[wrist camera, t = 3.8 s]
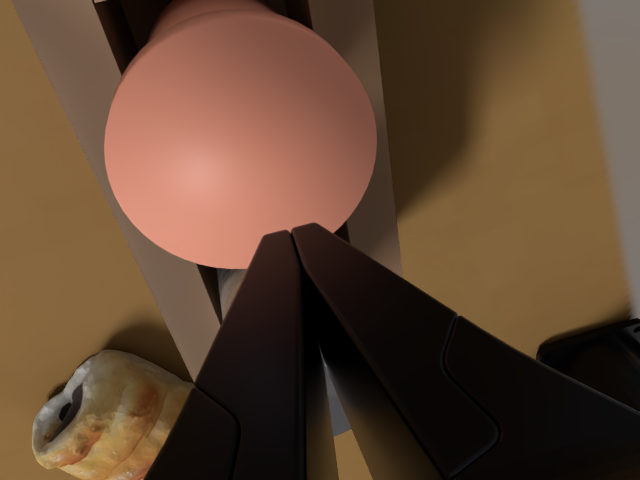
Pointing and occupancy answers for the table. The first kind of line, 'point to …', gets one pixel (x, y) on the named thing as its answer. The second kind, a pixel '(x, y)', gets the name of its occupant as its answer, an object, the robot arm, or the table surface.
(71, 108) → the brown wooden rack
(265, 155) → the pink stopper
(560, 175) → the table surface
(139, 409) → the pastry
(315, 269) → the robot arm
